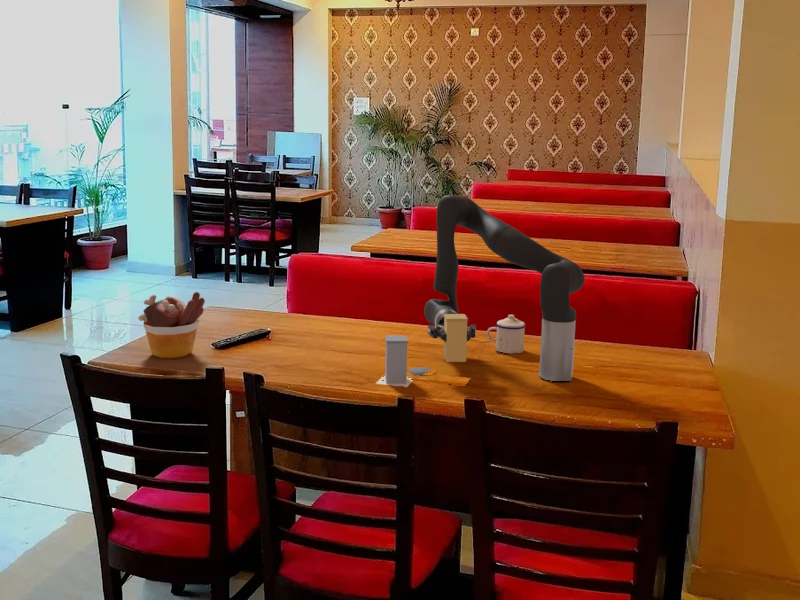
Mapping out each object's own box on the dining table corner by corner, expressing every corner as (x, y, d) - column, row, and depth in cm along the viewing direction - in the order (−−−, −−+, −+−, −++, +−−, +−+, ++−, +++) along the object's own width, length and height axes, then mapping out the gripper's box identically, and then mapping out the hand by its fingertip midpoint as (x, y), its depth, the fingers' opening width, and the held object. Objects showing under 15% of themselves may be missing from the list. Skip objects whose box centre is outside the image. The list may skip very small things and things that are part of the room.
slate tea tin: (405, 377, 232) (406, 335, 230) (407, 383, 226) (408, 340, 224) (384, 377, 232) (385, 335, 229) (385, 383, 226) (386, 340, 223)
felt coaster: (439, 370, 240) (439, 368, 240) (432, 378, 233) (432, 376, 233) (412, 367, 243) (412, 366, 242) (405, 375, 235) (405, 373, 235)
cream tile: (415, 378, 232) (415, 377, 232) (407, 388, 224) (407, 387, 224) (384, 375, 235) (384, 374, 234) (375, 384, 226) (375, 383, 226)
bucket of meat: (128, 357, 246) (125, 292, 242) (161, 344, 262) (158, 282, 257) (187, 365, 240) (185, 298, 236) (216, 350, 255) (215, 287, 251)
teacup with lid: (525, 348, 266) (527, 313, 263) (522, 355, 257) (524, 319, 255) (488, 345, 269) (489, 310, 266) (484, 352, 260) (485, 316, 257)
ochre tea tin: (463, 356, 232) (464, 313, 229) (466, 361, 226) (467, 318, 224) (443, 356, 231) (443, 314, 229) (445, 362, 226) (446, 318, 223)
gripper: (424, 311, 240) (430, 324, 224) (473, 310, 241) (483, 324, 225) (423, 336, 242) (430, 351, 225) (472, 335, 243) (482, 350, 226)
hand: (456, 337), depth 225 cm, fingers closed on ochre tea tin, 5 cm apart
